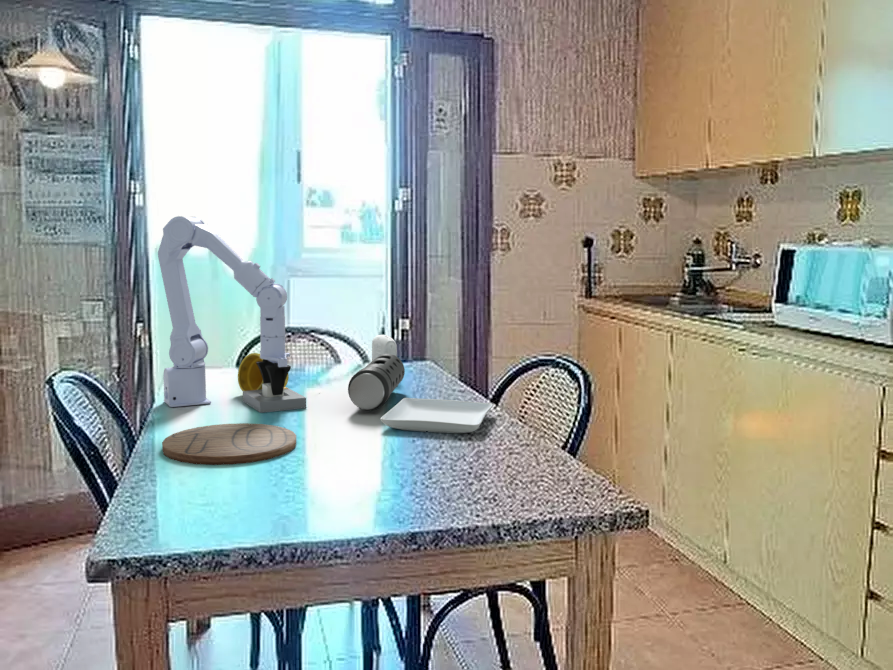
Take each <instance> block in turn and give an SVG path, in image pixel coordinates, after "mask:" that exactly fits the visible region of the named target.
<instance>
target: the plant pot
mask: <svg viewBox="0 0 893 670" xmlns="http://www.w3.org/2000/svg"><path fill="white" fill-rule="evenodd" d="M262 360H263V359H261V358H260V353H257V352H251V353H249V354H247V355H246V356H245V357H244V358H243V359H242V360H241V362H240V364H239V366H238V372H237V384H238V386H239V388H240V389H241V392H243V391H249V390H261V389H262V384H264V383H263V378H262V375H261V372H260V369H259V367H258V366H257V364H256V362H259V361H262ZM288 382H289V374H288V375H287V377H286V380H285V384H284V387H286V386H287V385H288Z"/></svg>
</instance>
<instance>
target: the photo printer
mask: <svg viewBox="0 0 893 670" xmlns="http://www.w3.org/2000/svg"><path fill="white" fill-rule="evenodd" d="M371 341H372V342H371V362H372V361H373V360H374V359H375V358H377V357H378V356H380V355H382V354H392V355H395V356H397V357H398V345H397V343H396V341H395V340H394V338H393V337H391V336H389V335H387V334H378V335H375V336H374V337H373V338H372V340H371ZM381 365H383V364H381Z"/></svg>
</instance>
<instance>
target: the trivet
mask: <svg viewBox="0 0 893 670" xmlns="http://www.w3.org/2000/svg"><path fill="white" fill-rule="evenodd" d="M161 445H162V446H161V447H162V448H161V449H162V453H163V456H165V457H166V458H168V459H169V460H172V461H175V462H179V463H184V464H185V463H186V464H190V465H201V466H202V465H203V466H204V465H205V466H230V465H232V466H233V465H241V464H242V465H243V464H251V463H257V462H263V461H269V460H271V459H275V458H278V457H282V456H284V455H287V454H289V453H290V452H292V451H293V450H294V449H295V448H296V447H297V434H296V433H295V432H294V431H293V430H291V429H288V428H286V427H284V426H283V427H282V426H278V425H272V424H265V423H248V422H247V423H246V422H245V423H221V424H211V425H204V426H197V427H192V428H188V429H184V430H181V431H177V432H174V433H172V434H171V435H169V436H167V437H165V438H164V440H163V441H162V442H161Z"/></svg>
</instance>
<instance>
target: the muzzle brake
mask: <svg viewBox="0 0 893 670" xmlns="http://www.w3.org/2000/svg"><path fill="white" fill-rule="evenodd" d="M381 364H383V365H381ZM405 372H406V371H405V365H404V363H403V361H402V360H401V358H399V357H398V355H397V356H395V355H392V354H382V355H380V356H378V357H377V358H375V359H374V360H373V361H372V360H371V361H370V363H368V364H367V365H366V366H365V367H363V368H362V369H359V370H358V371H357V372H356V373H354V374H353V376H352V377H351V378H350V380H349V382H348V384H347V385H348V386H347V392H348V396H349V399H350V401H351V402H352V403H353V404H354V406H356V407H357V408H358V409H360V410H365V411H374V410H377V409H379V408H381V407H382V406H384V405H385V403H386V402H387V401H388V400H389V399H390V397H391V394H392V393H393V392H394V390H395V389H397V387H398V386H399V385H400V384H401V382H402V381H403V379H404V377H405V374H406V373H405Z"/></svg>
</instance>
